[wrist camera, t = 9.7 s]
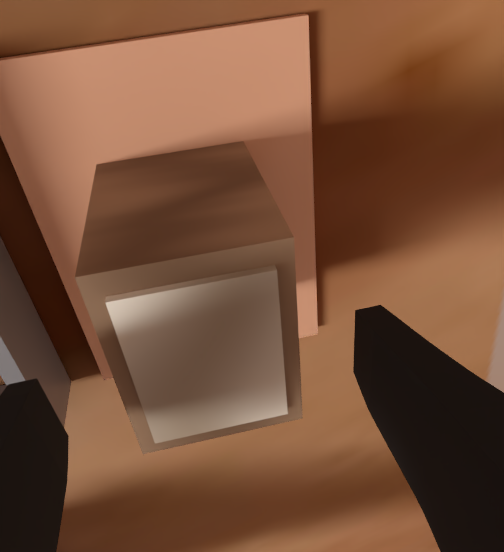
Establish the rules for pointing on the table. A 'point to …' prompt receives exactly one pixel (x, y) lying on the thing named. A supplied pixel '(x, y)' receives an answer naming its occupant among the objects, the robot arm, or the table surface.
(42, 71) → the tile
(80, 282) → the walnut box
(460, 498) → the robot arm
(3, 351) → the bin
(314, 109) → the table surface
